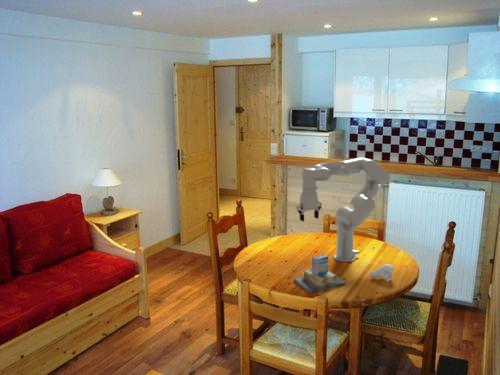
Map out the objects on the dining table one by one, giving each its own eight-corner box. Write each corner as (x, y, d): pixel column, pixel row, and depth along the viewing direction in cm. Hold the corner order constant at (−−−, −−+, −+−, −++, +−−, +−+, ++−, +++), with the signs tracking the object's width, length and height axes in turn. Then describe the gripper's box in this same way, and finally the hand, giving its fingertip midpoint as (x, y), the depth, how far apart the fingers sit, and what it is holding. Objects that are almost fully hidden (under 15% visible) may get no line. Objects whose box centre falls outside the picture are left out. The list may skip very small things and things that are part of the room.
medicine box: (317, 275, 236) (317, 259, 234) (311, 273, 239) (311, 257, 237) (328, 272, 240) (328, 256, 238) (322, 269, 244) (322, 254, 242)
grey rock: (393, 266, 238) (369, 267, 241) (394, 282, 240) (370, 282, 243) (392, 262, 244) (369, 262, 247) (393, 277, 246) (370, 277, 249)
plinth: (328, 273, 252) (329, 263, 251) (346, 285, 238) (346, 274, 237) (293, 281, 244) (293, 270, 242) (309, 293, 229) (309, 282, 228)
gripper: (318, 186, 263) (317, 215, 267) (292, 190, 256) (292, 220, 260) (325, 189, 257) (325, 218, 261) (300, 193, 249) (300, 223, 253)
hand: (309, 219), depth 260 cm, fingers open, 9 cm apart
